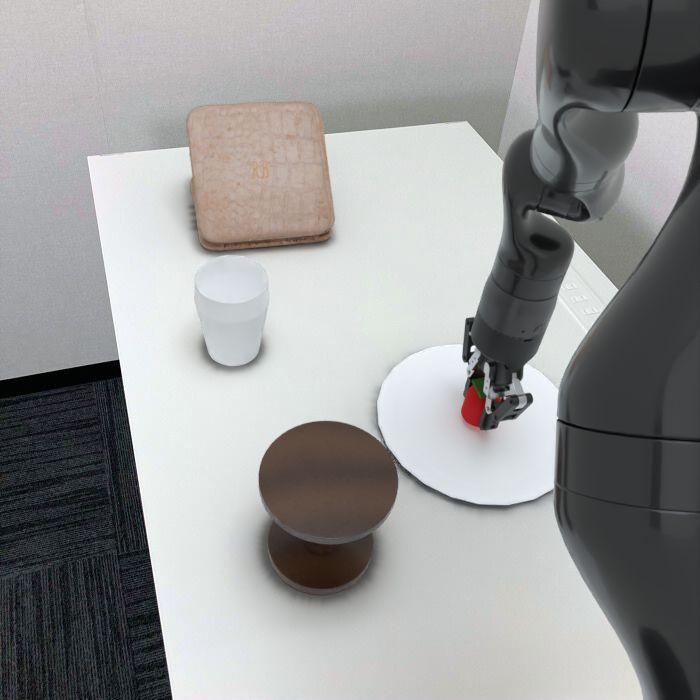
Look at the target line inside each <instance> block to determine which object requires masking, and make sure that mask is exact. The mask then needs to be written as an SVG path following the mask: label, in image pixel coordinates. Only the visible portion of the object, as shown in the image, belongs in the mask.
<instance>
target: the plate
mask: <svg viewBox="0 0 700 700" xmlns="http://www.w3.org/2000/svg"><path fill="white" fill-rule="evenodd" d="M475 348H476V347H475V345H474V346H472V347H471V352H473V351H474V349H475ZM462 352H463V343H462V344H460V343H458V344H457V343H449V344H444V345H437V346H431V347H428V348H425V349H422V350H421V351H418V352H415V353H413V354H409V355H408V356H407V357H405V358H404V359H403V360H401V362H399V363H398V364H396V365H395V366H394V367H392V369H391V370H390V372H389V374H388V375H387V377H386V378H385V379H384V381H383V382H382V383H381V388H380V391H379V394H378V396H377V397H378V398H377V401H376V412H377V425H378V428H379V430H380V432H381V433H380V434H381V436H382V438H383V441H384V444H385V447H387V450H389V452H390V454H392V455H393V457H394V458H395V459H396V461H397V462H398V464H399V465H400V466H401V467H402V468H403V469H404V470H406V471H407V472H408V473H409V474H411V475H412V476H413V477H414V478H415V479H416V480H418V481H419V482H420V483H421V484H423V485H424V486H426V487H428V488H429V489H432V490H433V491H436V492H438V493H440V494H442V495H444V496H446V497H448V498H450V499H454V500H458V501H461V502H466V503H470V504H473V505H478V506H495V507H497V506H498V507H501V506H502V507H509V506H514V505H519V504H522V503H527V502H532V501H535V500H537V499H538V498H540V497H542V496H544V495H546V494H547V493H549V492H551V491H553V488H554V465H555V442H556V420H557V419H558V417H557V403H558V392H559V388H557V386H555V384H554V383H553V382H552V381H551V380H550V379H549V378H548V377H547V376H546V375H544V373H542V372H541V371H539V370H537V369H536V368H535V367H534V366H532V365H530V364H529V363H528V362H527V363H526V364H525V365H524V369H523V378H522V380H521V381H520V383H521V386H522V388H523V391H524V393H531V394H532V396H533V403H532V404H531V405H530V406H529V407H528V408H527V409H526V410H525V411H524V412H523V413H522V414H520V415H519V416H518V417H517V418H516V419H514V420H506V421H501V422H499V424H498V427H497V428H496V429H492V430H486V431H485V430H480V428H479V427H475V426H472V425H470V424H469V423H467V422H466V421H465V420H464V419H463V417H462V414H461V408H462V405H463V402H464V399H465V398H464V396H463V392H464V389H465V384H466V381H467V378H468V375H467V367H468V363H464V362H463V359H462Z"/></svg>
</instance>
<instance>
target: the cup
mask: <svg viewBox="0 0 700 700" xmlns="http://www.w3.org/2000/svg"><path fill="white" fill-rule="evenodd" d="M193 277H194V278H193V281H194V282H193V283H194V284H193V285H194V286H193V287H194V294H193V299H194V305H195V309H196V313H197V316H198V320H199V324H200V327H201V330H202V334H203V338H204V342H205V345H206V348H207V352H208V355H209V356H210V357H211V359H212V360H213V361H214V362H216V363H218V364H220V365H223V366H226V367H240V366H243V365H246V364H249V363H250V362H252V361H253V360H254V359H256V357H257V356H258V354H259V352H260V347H261V343H262V338H263V332H264V329H265V323H266V318H267V313H268V309H269V304H270V288H269V275H268V272H267V271H266V269H265V267H264V266H263V265H261V264H260V263H259V262H258V261H256V260H255V259H252V258H250V257H247V256H242V255H236V254H234V255H232V254H228V255H220V256H216V257H213V258H210V259H208V260H207V261H205V262H204V263H202V264H201V265H200V266H199V267H198V268H197V269H196V271H195V274H194V276H193Z"/></svg>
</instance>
